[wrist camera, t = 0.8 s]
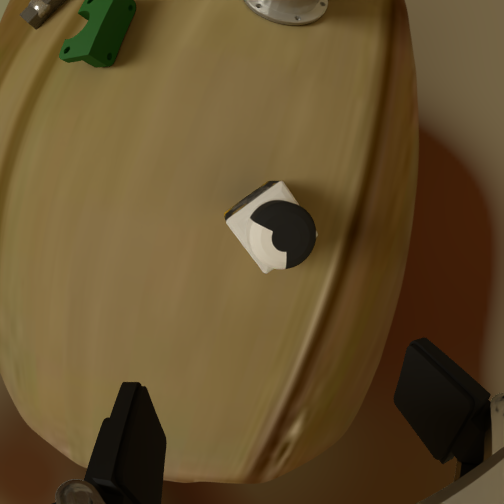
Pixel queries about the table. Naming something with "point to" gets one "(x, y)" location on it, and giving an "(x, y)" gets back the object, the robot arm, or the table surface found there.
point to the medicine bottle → (273, 227)
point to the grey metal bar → (40, 11)
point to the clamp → (99, 32)
